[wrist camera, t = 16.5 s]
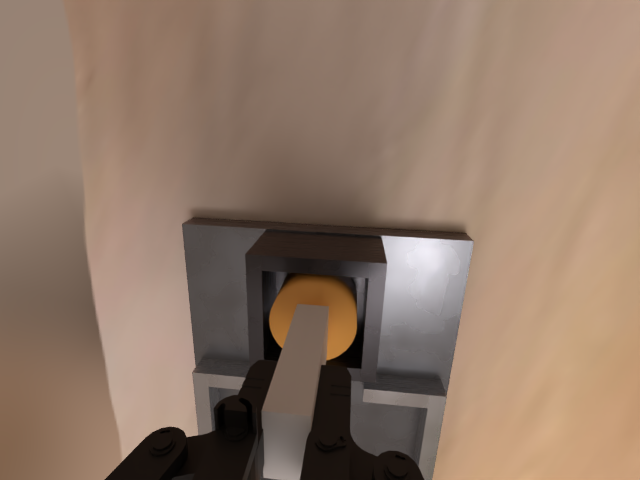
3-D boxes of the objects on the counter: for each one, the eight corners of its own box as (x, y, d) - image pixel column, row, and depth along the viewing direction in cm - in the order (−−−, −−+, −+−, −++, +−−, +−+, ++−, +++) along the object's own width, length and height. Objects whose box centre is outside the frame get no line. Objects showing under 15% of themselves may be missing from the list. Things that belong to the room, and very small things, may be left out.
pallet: (192, 217, 23) (144, 245, 18) (466, 233, 21) (501, 268, 16) (214, 463, 29) (183, 536, 24) (423, 487, 28) (438, 570, 23)
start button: (281, 258, 20) (268, 280, 17) (359, 263, 20) (359, 287, 17) (281, 326, 21) (269, 357, 19) (354, 332, 21) (354, 365, 18)
